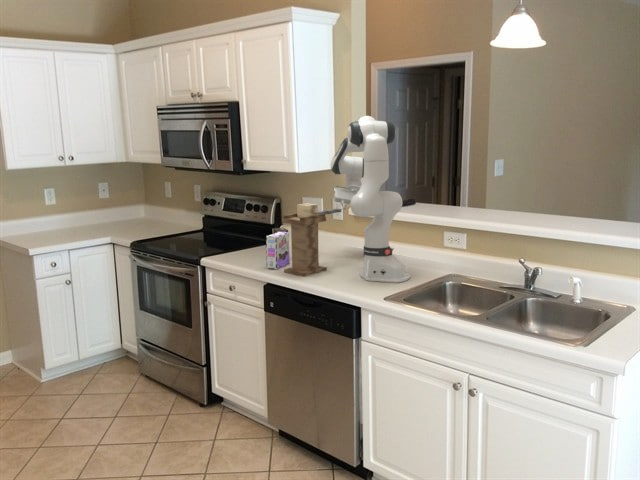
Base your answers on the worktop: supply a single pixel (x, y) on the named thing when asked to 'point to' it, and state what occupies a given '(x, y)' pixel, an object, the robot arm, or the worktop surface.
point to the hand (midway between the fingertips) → (353, 210)
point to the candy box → (277, 250)
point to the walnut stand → (304, 244)
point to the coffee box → (279, 230)
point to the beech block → (312, 210)
